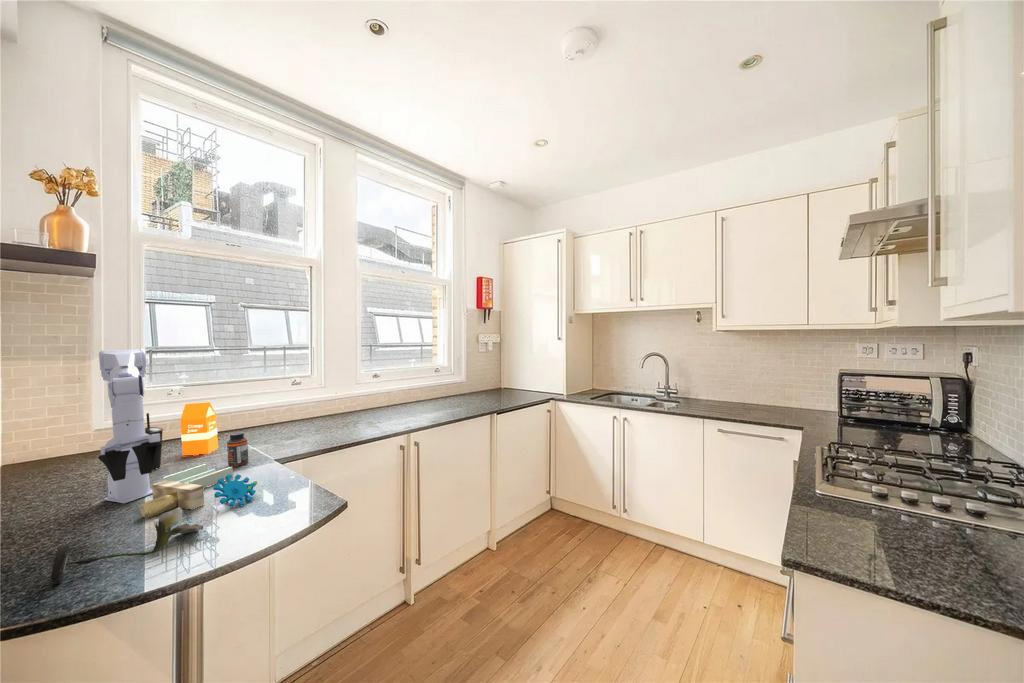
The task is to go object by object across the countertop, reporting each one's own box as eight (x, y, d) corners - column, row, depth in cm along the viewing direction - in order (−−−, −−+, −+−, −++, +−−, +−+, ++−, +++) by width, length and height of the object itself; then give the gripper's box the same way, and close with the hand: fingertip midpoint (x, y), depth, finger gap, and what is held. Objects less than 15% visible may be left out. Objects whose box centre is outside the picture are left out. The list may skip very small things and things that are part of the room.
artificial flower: (52, 581, 75) (60, 527, 77) (199, 547, 90) (202, 502, 93) (44, 589, 69) (53, 529, 71) (203, 550, 84) (206, 503, 86)
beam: (153, 503, 106) (152, 484, 106) (166, 498, 109) (164, 480, 108) (192, 510, 101) (190, 490, 101) (204, 505, 104) (203, 485, 103)
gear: (224, 508, 97) (209, 477, 101) (212, 523, 98) (199, 491, 102) (266, 496, 107) (252, 468, 111) (255, 509, 109) (241, 481, 112)
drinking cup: (169, 467, 136) (165, 412, 135) (140, 474, 130) (136, 416, 129) (161, 463, 140) (158, 410, 139) (133, 470, 134) (129, 414, 133)
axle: (150, 520, 97) (150, 505, 97) (140, 515, 98) (140, 501, 98) (201, 499, 108) (202, 486, 108) (191, 496, 110) (192, 482, 109)
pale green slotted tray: (163, 489, 116) (162, 477, 116) (205, 474, 127) (204, 463, 127) (191, 493, 112) (191, 481, 112) (233, 477, 123) (232, 466, 123)
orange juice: (193, 450, 156) (190, 402, 155) (218, 448, 158) (215, 400, 157) (182, 456, 148) (178, 405, 147) (208, 454, 150) (205, 404, 149)
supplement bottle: (224, 466, 135) (222, 434, 134) (241, 460, 140) (239, 430, 140) (235, 468, 132) (233, 436, 132) (252, 462, 138) (250, 431, 138)
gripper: (84, 430, 93) (87, 487, 91) (137, 417, 92) (141, 474, 90) (117, 428, 100) (120, 480, 98) (166, 415, 99) (171, 468, 97)
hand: (132, 477), depth 95 cm, fingers open, 7 cm apart
